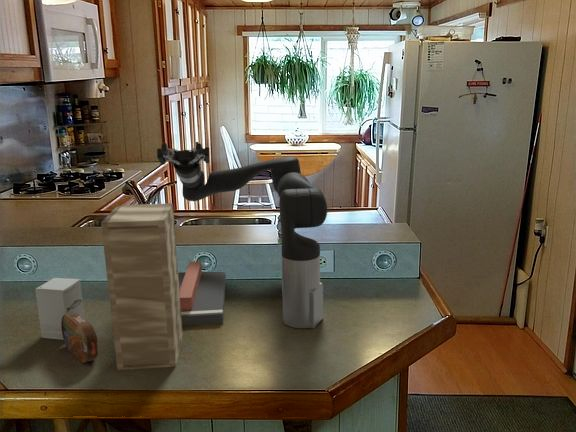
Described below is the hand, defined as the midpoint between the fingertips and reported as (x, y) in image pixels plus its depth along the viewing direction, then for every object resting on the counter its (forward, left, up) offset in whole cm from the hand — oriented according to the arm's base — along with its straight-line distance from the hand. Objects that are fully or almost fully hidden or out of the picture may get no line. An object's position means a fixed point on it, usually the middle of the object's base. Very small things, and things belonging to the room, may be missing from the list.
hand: (180, 145), depth 140 cm
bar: (-4, +5, -39) cm, 39 cm away
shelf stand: (-13, +33, -41) cm, 54 cm away
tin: (+1, +40, -42) cm, 57 cm away
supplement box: (+13, +34, -41) cm, 55 cm away
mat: (-5, +6, -41) cm, 42 cm away
